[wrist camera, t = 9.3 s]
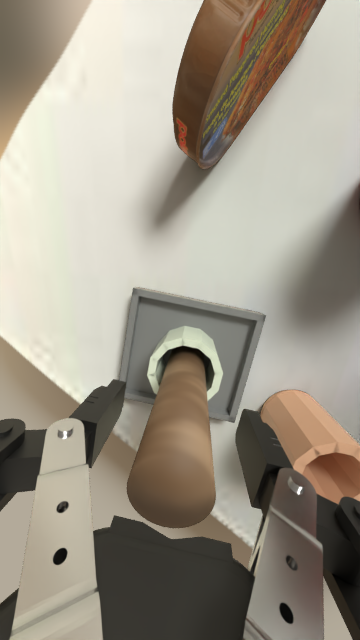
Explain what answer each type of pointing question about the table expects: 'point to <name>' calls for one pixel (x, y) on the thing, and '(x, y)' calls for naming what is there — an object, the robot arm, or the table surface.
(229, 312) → the tray
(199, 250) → the table surface
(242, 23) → the tin
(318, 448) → the cup
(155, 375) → the holder
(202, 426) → the peg
